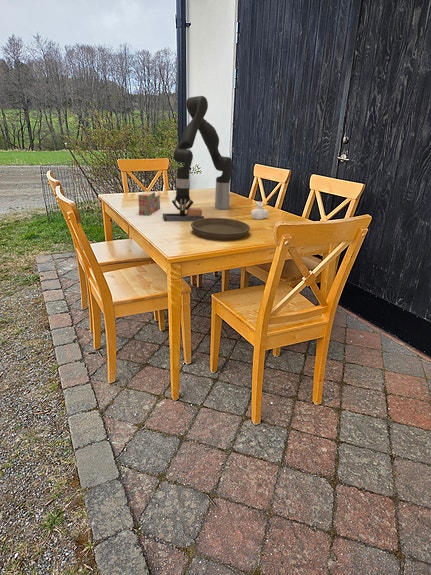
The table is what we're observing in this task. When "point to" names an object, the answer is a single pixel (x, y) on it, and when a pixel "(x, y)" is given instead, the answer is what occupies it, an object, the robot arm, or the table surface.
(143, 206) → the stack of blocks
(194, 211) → the block
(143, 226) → the table surface
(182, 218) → the rectangular frame
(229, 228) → the plant saucer
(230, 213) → the table surface
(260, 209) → the bust
